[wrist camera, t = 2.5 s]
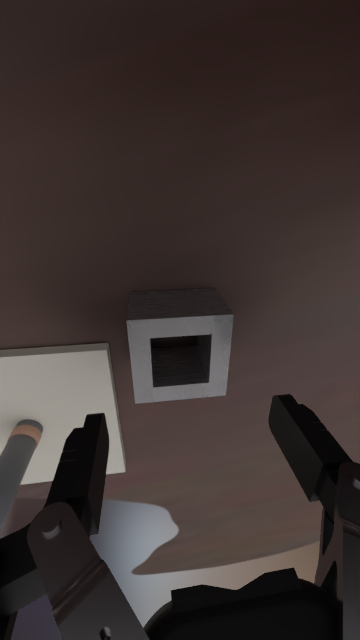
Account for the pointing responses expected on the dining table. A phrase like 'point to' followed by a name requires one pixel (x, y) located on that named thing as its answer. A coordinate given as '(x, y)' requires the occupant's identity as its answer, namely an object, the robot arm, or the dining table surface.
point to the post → (51, 410)
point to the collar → (179, 362)
